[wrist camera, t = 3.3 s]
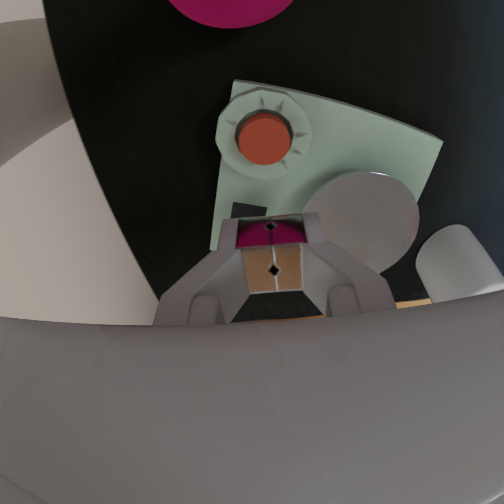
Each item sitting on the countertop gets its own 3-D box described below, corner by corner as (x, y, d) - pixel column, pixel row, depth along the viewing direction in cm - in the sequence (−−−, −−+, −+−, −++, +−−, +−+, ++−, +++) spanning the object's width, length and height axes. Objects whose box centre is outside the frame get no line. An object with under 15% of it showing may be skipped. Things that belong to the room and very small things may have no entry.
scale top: (223, 260, 24) (223, 263, 24) (243, 140, 18) (243, 142, 17) (385, 282, 25) (387, 286, 25) (436, 189, 19) (439, 192, 19)
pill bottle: (415, 287, 30) (448, 370, 22) (414, 236, 26) (462, 328, 17) (469, 267, 28) (510, 342, 20) (476, 215, 24) (533, 294, 15)
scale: (206, 239, 26) (201, 262, 24) (228, 77, 18) (223, 83, 15) (375, 265, 28) (383, 286, 26) (434, 135, 19) (454, 149, 17)
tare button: (236, 152, 18) (235, 161, 17) (244, 108, 17) (243, 114, 15) (282, 160, 19) (284, 169, 18) (292, 117, 17) (295, 123, 16)
